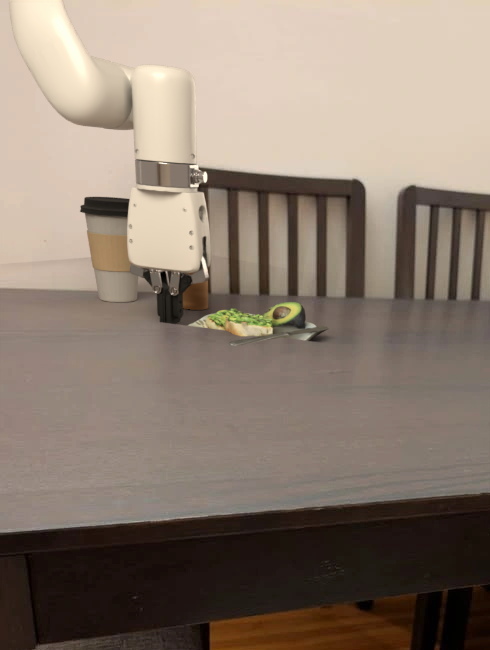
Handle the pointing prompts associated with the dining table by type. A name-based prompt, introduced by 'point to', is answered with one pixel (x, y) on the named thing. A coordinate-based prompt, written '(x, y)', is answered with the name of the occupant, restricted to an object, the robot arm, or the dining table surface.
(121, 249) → the coffee cup
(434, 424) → the dining table surface
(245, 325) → the avocado toast
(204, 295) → the pepper grinder
